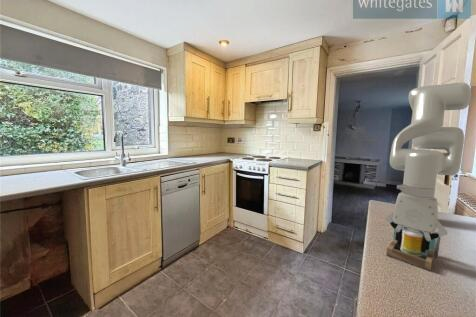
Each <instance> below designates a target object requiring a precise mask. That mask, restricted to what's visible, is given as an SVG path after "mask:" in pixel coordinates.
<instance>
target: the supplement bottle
mask: <svg viewBox="0 0 476 317" xmlns="http://www.w3.org/2000/svg"><path fill="white" fill-rule="evenodd" d="M403 227H404V226H403ZM423 239H424V233H423V231H419V230H416V229H412V228H408V227H404V228H403V229H402V236H401V245H400V250H401V251H402V252H405V253H408V254H411V255H414V256H417V257H419V256H421V255H422V245H423Z"/></svg>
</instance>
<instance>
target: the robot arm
mask: <svg viewBox="0 0 476 317" xmlns="http://www.w3.org/2000/svg"><path fill="white" fill-rule="evenodd" d="M471 100H472V89H471V86H470V84H468V83H467V82H455V83H454V82H452V83H445V84H443V83H442V84H432V85H424V86H423V85H422V86H419V87H415V88H413V89H411V90H410V91H409V93H408V102H409V106H410V108H411V110H412V115H411V122H410V124H409V125H408V126H406V127H404V128H403V129H402V130H401V131H399V132H398V133H397V134H396V136H395V137H394V139H393V141H392V144H391V150H390V154H389V165H390V167H391V168H392V169H394V170H397V171H403V180H402V181H403V183H402V184H397V185H396V189H397V190H400V192H399V193H398V195H397V198H396V201H395V205H394V211H393V212H391V213H389V214H387V215H386V216H385V218H384V219H385V220H386V222H388V223H389V224H390V226H391V227H392V229H395V231H396V238H395V240H397V244H398V245H400V244H401V236H402V229H401V228H402V227H408V228H412V229H416V230H419V231H422V232H424V235H425V237H424V239H423V245H422V252H423V253H425V251H426V250H429V245H430V241H431V240H433V239H436V238H438V237H440V236H441V237H444V236H446V235H448V233H449V232H448V230H447V229H446V227H444V226H443V224H441V222H440V221H439V220H438V216H439V214H438V213H439V207H438V199H437V198H436V197H435V192H436V187H437V186H436V185H437V178H438V177H437V176H438V175H442V176H444V175H445V176H454V175H457V174H458V173H459V171H460V169H461V163H462V158H463V150H464V142H465V134H464V130H463V129H462V128H460V127H456V126H444V118H445V111H457V110H459V111H460V110H465V109H466V108H468V107H469V105H470V104H471ZM411 140H412V144H413V146H414V147H415V148H416V149H415V148H402V147H403V146H404V144H406V143H408V142H409V141H411ZM440 150H443V151H446V152H442V151H440ZM436 230H438V231H436ZM441 237H440V238H441Z"/></svg>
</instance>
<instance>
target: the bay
mask: <svg viewBox="0 0 476 317" xmlns="http://www.w3.org/2000/svg"><path fill="white" fill-rule="evenodd" d="M393 238H394V237H393ZM434 254H435V250H433V249H430V250H429V253H428V254H425V253H422V255H421V256H419V257H417V256H414V255H411V254H408V253H405V252H402V251H401V250H400V245H398V244H397V240H395V238H394V240H393V239H392V241H391V242H390V244H389V245H388V246H387V248H386V257H390V258H392V259H395V260H397V261H400V262H403V263H406V264H409V265H412V266H414V267H417V268H419V269H422V270H425V271H427V272H431V269H432V266H433V262H434V258H435V257H434Z"/></svg>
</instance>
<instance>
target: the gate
mask: <svg viewBox="0 0 476 317" xmlns="http://www.w3.org/2000/svg"><path fill="white" fill-rule="evenodd" d="M403 228H404V226H403V227H402V228H401V229H403ZM393 229H394V228H393ZM393 231H394V232H393V239H392V241H393V240H394V238H396V231H395V229H394V230H393ZM422 232H423V231H422ZM423 233H424V232H423ZM424 237H425V235H424ZM441 238H442V236H440V237H438V238H436V239H433V240H431V241H430V245H429V250H430V249H433V250H435V254H434V258H436V259H437V258H439V257H438V256H439V252H440V245H441V244H440V243H441ZM400 245H401V244H400ZM429 250H426V251H425V254H428V253H429ZM422 253H423V252H422Z"/></svg>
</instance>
